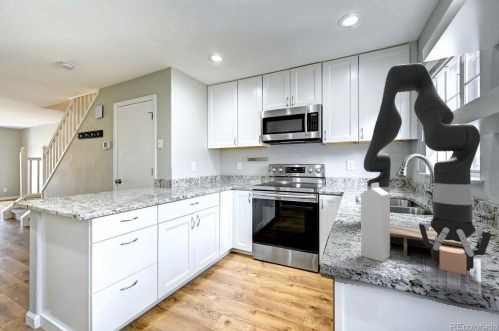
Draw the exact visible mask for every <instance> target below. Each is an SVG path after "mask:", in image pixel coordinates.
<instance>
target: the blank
mask: <svg viewBox="0 0 499 331" xmlns="http://www.w3.org/2000/svg"><path fill="white" fill-rule="evenodd" d="M439 251H440V265H438V268H439V270H442V271H445V272H450V273H456V274H460V275H465V276H467V270H466V253H465V252H464V250H463V248H462V247H460V246H454V245H448V244H441V246H440V248H439Z"/></svg>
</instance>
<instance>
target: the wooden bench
mask: <svg viewBox="0 0 499 331" xmlns="http://www.w3.org/2000/svg"><path fill="white" fill-rule="evenodd" d="M426 233H427V236H428V239H429V241H430V242H434V240H435V237H436V235H437V233H436V231H435V230H434V229H429V231H426ZM390 244H398V245H403V256H405V257H408V247H415V248H421V249H428V250H429V253H430V256H431V261H432V262H434V261H433V251H432V248H430V247H427V246H425V245H424V242H423V238H422V235H421V232H420V228H419V227H412V226H404V225H397V224H391V223H390ZM442 244H448V245H454V246H460V247H462V248H463V250H464V252H465V253H466V251H465V249H464V247H463V245H462V243H461V242H456V241H454V240H444V241H443V243H442Z"/></svg>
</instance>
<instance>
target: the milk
mask: <svg viewBox="0 0 499 331" xmlns="http://www.w3.org/2000/svg"><path fill="white" fill-rule="evenodd" d="M390 195H391V194H389V193H388V192H386V191H384V190H383V189H381V188H379V183H371V189H369V190H368V189H367V190H366V191H363V192H361V193H360V255H361V257H364V258H368V259H371V260H375V261H378V262H381V263H384V262H385V261H386V260H387V259H389V258H390V256H391V242H390V224H391V220H390V218H391V215H390V214H391V210H390V208H391V206H390V205H391V203H390V201H391V200H390V197H391V196H390Z"/></svg>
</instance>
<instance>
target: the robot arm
mask: <svg viewBox="0 0 499 331" xmlns="http://www.w3.org/2000/svg"><path fill="white" fill-rule="evenodd" d="M413 91H414V92H416V93H417V94H418V95H417V97H416V99H415V102H414V105H413V110H414V114H415V116H416V117H417V119H418V120H419V122H420V123H421V125H422V130H423V137H424V143H425V145H426V147H427V148H428V149H430V150H432V151H434V152H452V154H451V155H450V158H449V159H446V160H440V161H437V162H435V164H434V165H433V188H432V197H431V198H432V219H431V221H430V222H419V223H418V228H420V232H421V235H422V238H423V242H424V245H425V246H427V247H430V248H432V251H433V261H432V262H435V264H436V265H438V266H439V265H440V251H439V248H440V246H441V244H442V243H443V241H444V240H454V241H456V242H461V243H462V245H463V247H464V249H465V251H466V271H469V272H471V270H474V268H475V266H474V265H475V264H474V262H475V260H474V258H475V256H481V257H482V256H485V254H486V251H487V249H488V245H489V243H490V240H491V237H492V233H490V231H489V230H487V229H479V228H476V227H475V226H474V224H473V202H474V198H473V192H472V191H473V190H472V184H471V182H472V180H471V179H472V178H471V177H472V176H471V169H472V165H473V162H474V160H475V156H476V154H477V151H478V148H479V146H480V142H481V133H480V131H479V129H478V128H477V127H476V126H475V125H473V124H471V123H453V121H454V118H455V114H454V113H453V111H452V110H451V108H450V107H449V105H448V104H447V103H446V102H445V101H444V100H443V99H442V98H441V96H440V94H439V93H438V91H437V89H436V86H435V84H434V81H433V78H432V75H431V74H430V72H429V70H428V68H427V67H426V66H425V65H424V64H423V63H422V62H421V63H420V62H415V63H413V62H412V63H403V64H397V65H393V66H391V68H390V69H389V70H388V72H387V75H386V78H385V83H384V88H383V93H382V99H381V104H380V106H379V110H378V114H377V116H376V117H377V118H376V120H375V125H374V128H373V132H372V136H371V140H370V143H369V146H368V149H367V151H366V154H365V156H364V160H363V169H364V170H365V172H368V173H379V175H378V176H376V177H373V178H370V179H368V180H367V190H369V189H371V183H379V188H381V189H383V190H384V191H386V192H388V193H389V194H390V192H391V191H390V183H391V167H392V162H391V161H392V159H391V156H390V154H388V153H384V152H382V153H380V152H381V151H382V150H383V149H384V148H386V147H387V146H388V145H390V144H391V143H392V142H393V141H394V140H395V139H396V138H397V137H398V136H399V133H400V130H401V127H402V126H403V125H402V124H403V118H402V116H401V114H400V111H399V110H398V108H397V106H396V96H397V94H398V93H406V92H413ZM390 195H391V194H390ZM430 228H432V230H435V231H436V233H437V235H436V237H435V240H434V242H430V241H429V239H428V236H427V233H426V231H429V230H430ZM474 233H475V234H476V235H475V236H476V237H477V238H478V240H477V242H476V246H475V248H474V247H473V248H472V247H471V245H470V242H469V241H468V239H469V237H471V236H472V235H473V234H474Z"/></svg>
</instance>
